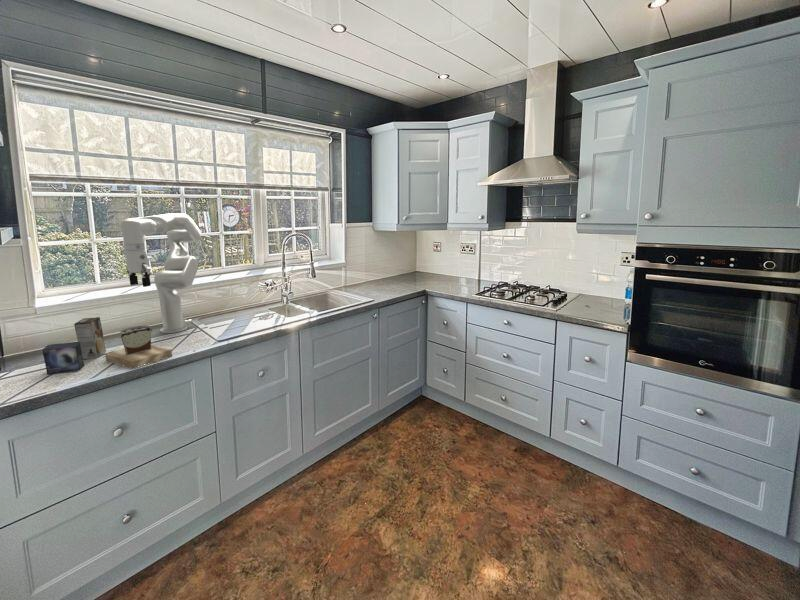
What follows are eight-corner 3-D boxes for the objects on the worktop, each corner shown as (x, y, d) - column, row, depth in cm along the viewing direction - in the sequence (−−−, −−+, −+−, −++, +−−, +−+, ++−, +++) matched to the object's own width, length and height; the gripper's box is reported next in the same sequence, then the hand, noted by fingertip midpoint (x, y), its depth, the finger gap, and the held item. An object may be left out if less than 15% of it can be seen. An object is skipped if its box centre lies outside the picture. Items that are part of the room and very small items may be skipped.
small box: (46, 375, 154) (40, 349, 152) (52, 369, 160) (47, 344, 158) (80, 370, 158) (75, 345, 156) (85, 365, 164) (80, 340, 162)
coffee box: (89, 352, 179) (83, 318, 175) (106, 351, 180) (100, 316, 177) (80, 359, 170) (73, 323, 166) (98, 358, 172) (91, 322, 168)
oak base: (145, 349, 183) (144, 342, 182) (172, 356, 173) (171, 349, 173) (106, 360, 169) (105, 353, 168) (133, 368, 160) (132, 361, 159)
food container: (148, 345, 178) (144, 323, 176) (155, 348, 175) (151, 326, 173) (116, 353, 168) (112, 330, 166) (123, 356, 165) (119, 333, 163)
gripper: (154, 247, 179) (160, 285, 182) (132, 246, 187) (138, 282, 190) (137, 249, 172) (143, 288, 176) (115, 247, 180) (121, 285, 184)
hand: (140, 285), depth 183 cm, fingers open, 9 cm apart
